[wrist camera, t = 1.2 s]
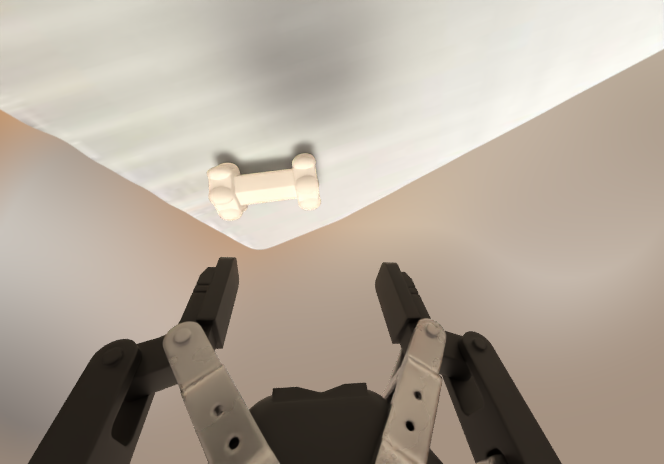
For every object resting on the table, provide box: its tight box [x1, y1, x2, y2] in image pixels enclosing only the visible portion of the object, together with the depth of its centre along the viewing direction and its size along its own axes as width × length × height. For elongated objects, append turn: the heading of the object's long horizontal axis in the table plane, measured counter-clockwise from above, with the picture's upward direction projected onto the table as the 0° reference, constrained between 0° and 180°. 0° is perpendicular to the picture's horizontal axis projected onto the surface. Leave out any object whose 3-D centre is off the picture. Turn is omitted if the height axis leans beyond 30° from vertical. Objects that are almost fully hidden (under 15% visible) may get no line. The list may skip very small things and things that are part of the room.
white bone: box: [207, 153, 321, 220], centre depth 36 cm, size 15×9×8 cm, turn 93°
